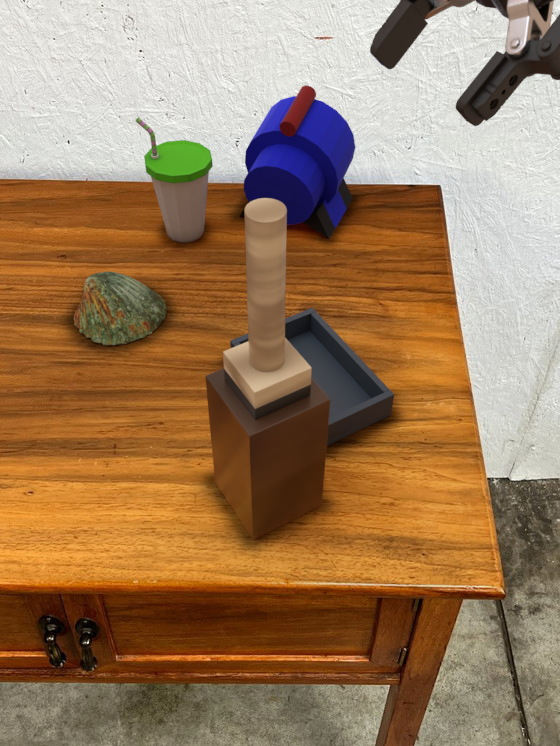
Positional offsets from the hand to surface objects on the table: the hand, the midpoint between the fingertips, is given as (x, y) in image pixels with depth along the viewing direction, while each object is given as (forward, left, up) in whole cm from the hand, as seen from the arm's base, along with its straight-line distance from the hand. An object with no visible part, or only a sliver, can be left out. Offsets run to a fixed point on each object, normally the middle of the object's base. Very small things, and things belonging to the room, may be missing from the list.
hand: (420, 88), depth 48 cm
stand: (0, +11, -35) cm, 37 cm away
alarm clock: (+36, -14, -35) cm, 52 cm away
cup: (+39, 0, -35) cm, 53 cm away
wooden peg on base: (0, +11, -21) cm, 24 cm away
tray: (+9, +1, -35) cm, 36 cm away
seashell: (+29, +13, -35) cm, 47 cm away
